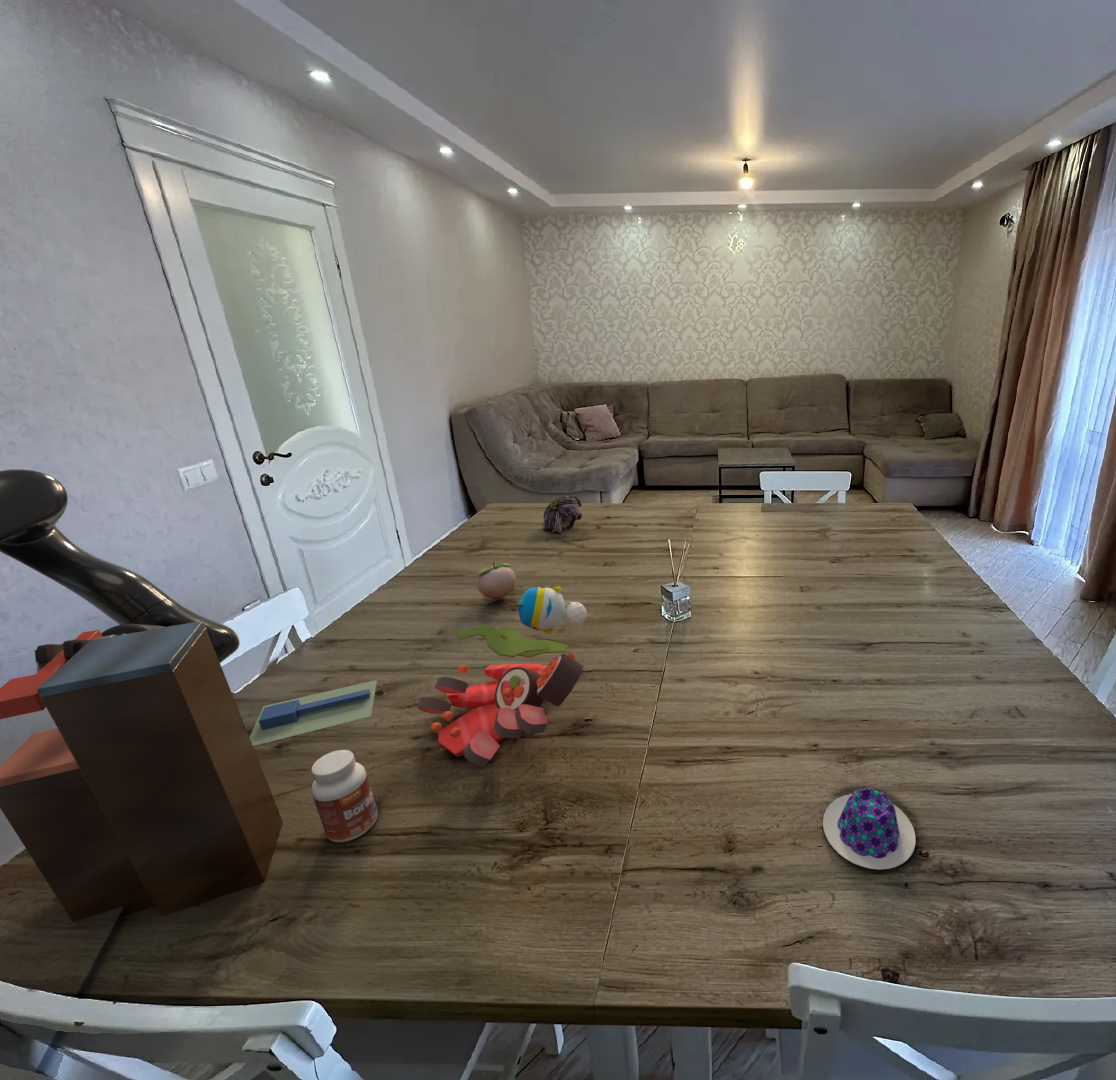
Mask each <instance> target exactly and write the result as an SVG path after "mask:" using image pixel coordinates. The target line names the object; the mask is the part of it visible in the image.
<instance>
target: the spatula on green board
mask: <svg viewBox="0 0 1116 1080" xmlns="http://www.w3.org/2000/svg"><path fill="white" fill-rule="evenodd" d="M377 683H378V679H375V680H370V681H367V682H360V683H358V684H357V683H356V684H353V685H349V686H345V687H340V688H336V689H332V690H327V691H323V692H319V693H315V694H310V695H306V696H302V697H297V698H293V699H290V700H284V701H279V702H276V703H271V704H267V705H263V706H262V708H261V711H260V713H259V715H258V717H257V719H256V721H255V724H254V726H253V728H252V731H251V733H250V735H249V738H250V740H251V743H252V745H253V747H255V746H256V747H257V746H259V745H263V744H268V743H272V742H275V741H280V740H284V739H288V738H291V737H296V736H300V735H303V734H308V733H311V732H316V731H319V730H323V729H327V728H331V727H335V726H339V725H344V724H346V723H347V724H348V723H351V722H355V721H359V720H363V719H367V718H370V717H372V712H373V707H374V701H375V694H376V690H377V689H376V688H377ZM367 689H370V693H371V694H370V698H368V699H364V700H359V701H355V702H351V703H347V704H343V705H339V706H335V707H330V708H326V709H322V710H318V711H314V712H310V713H305V714H301V715H299V717H298V720H297V722H294V723H290V724H286V725H282V726H278V727H274V728H269V729H265V730H262V729H261V726H260V724H259V719H260V716H261V714H262V712H263V710H264V708H265V707H269V706H273V705H277V704H282V703H286V702H290V701H295V700H299V703H300V705H303V704H307V703H312V702H316V701H320V700H324V699H329V698H333V697H337V696H341V695H346V694H350V693H354V692H358V691H363V690H367Z"/></svg>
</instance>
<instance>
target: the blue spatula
mask: <svg viewBox="0 0 1116 1080" xmlns="http://www.w3.org/2000/svg"><path fill="white" fill-rule="evenodd" d="M370 694H371V693H370V689H367V690H363V691H358V692H354V693H350V694H346V695H341V696H337V697H333V698H329V699H324V700H320V701H316V702H312V703H307V704H303V705H300V703H299V700H295V701H290V702H286V703H282V704H277V705H273V706H269V707H265V708H264V710H263V712H262V714H261V716H260V719H259V724H260V726H261V729H262V730H265V729H269V728H274V727H278V726H282V725H286V724H290V723H294V722H297V720H298V717H299V715H301V714H305V713H310V712H314V711H318V710H322V709H326V708H330V707H335V706H339V705H343V704H347V703H351V702H355V701H359V700H364V699H368V698H370Z"/></svg>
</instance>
